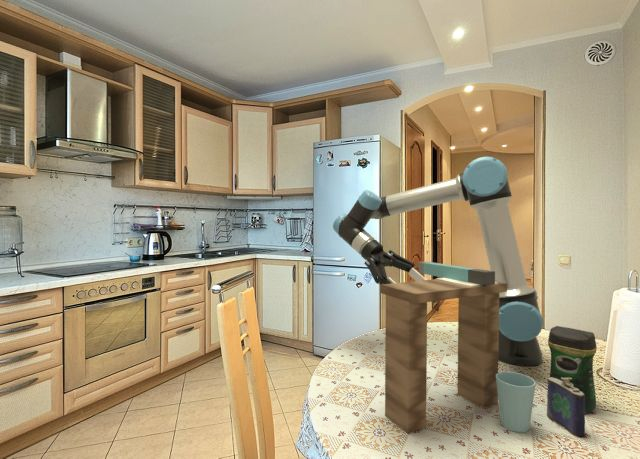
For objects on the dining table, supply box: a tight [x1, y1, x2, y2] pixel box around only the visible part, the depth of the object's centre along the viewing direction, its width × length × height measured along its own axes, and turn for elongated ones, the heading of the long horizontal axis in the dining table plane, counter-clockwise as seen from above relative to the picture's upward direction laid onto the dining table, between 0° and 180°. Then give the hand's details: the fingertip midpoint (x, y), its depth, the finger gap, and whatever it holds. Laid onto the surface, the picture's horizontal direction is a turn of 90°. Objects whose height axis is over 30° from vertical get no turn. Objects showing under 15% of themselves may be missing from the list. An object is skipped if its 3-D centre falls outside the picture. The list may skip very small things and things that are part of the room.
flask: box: [546, 376, 586, 439], centre depth 80 cm, size 9×3×11 cm, turn 8°
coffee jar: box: [547, 325, 598, 413], centre depth 89 cm, size 10×8×19 cm
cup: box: [496, 371, 537, 434], centre depth 80 cm, size 8×8×10 cm
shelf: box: [380, 277, 507, 434], centre depth 86 cm, size 28×12×30 cm, turn 116°
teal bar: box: [418, 261, 495, 286], centre depth 92 cm, size 3×22×3 cm, turn 27°
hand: (414, 289), depth 114 cm, fingers open, 13 cm apart
